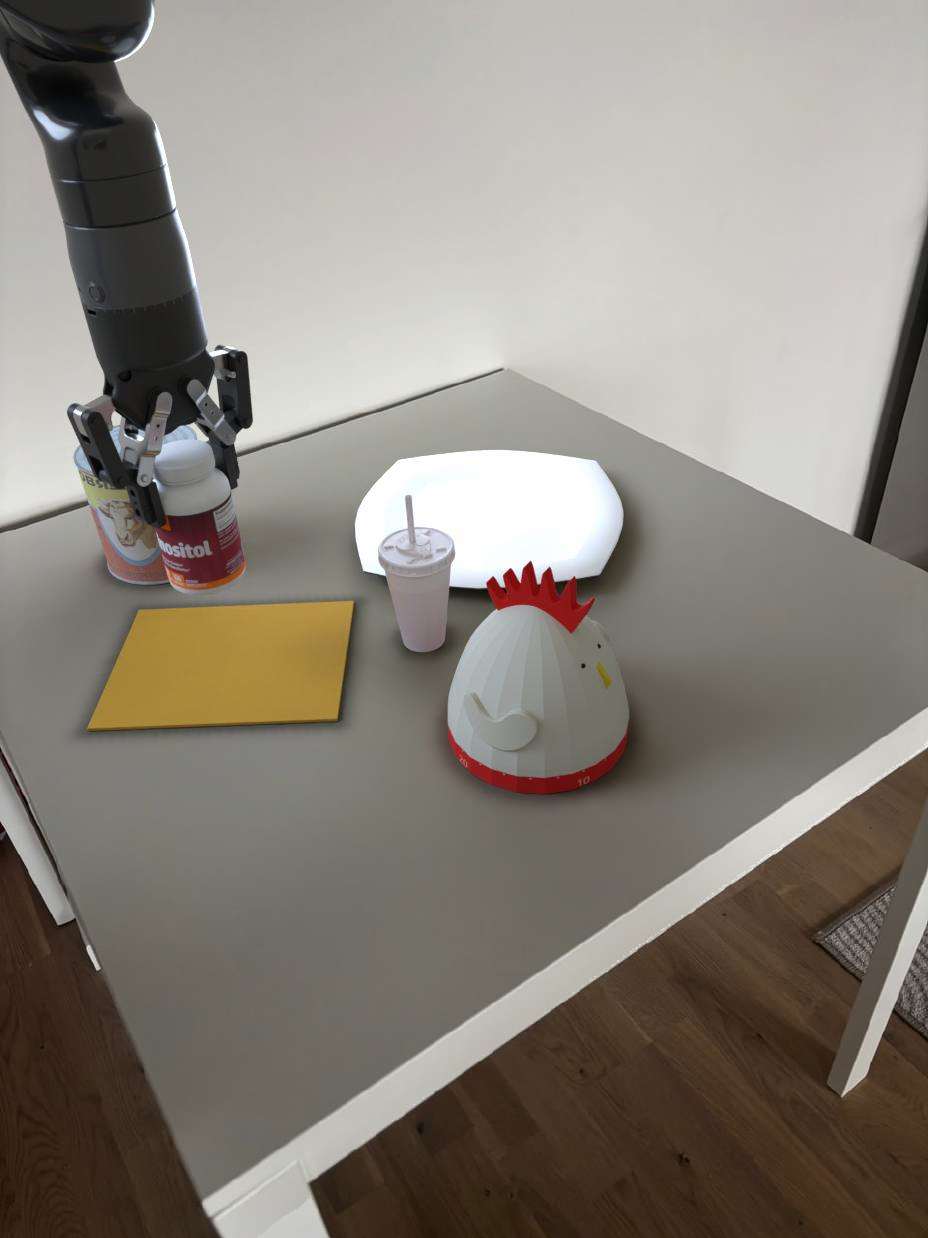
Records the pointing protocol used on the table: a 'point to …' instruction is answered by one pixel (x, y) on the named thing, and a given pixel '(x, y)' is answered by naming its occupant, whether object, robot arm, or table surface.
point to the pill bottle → (197, 520)
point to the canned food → (125, 521)
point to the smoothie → (418, 581)
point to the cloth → (228, 667)
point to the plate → (499, 513)
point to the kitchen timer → (537, 691)
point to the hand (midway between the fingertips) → (191, 504)
